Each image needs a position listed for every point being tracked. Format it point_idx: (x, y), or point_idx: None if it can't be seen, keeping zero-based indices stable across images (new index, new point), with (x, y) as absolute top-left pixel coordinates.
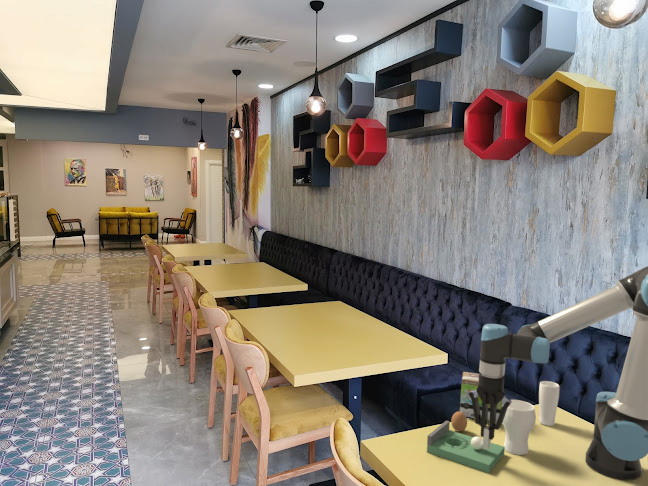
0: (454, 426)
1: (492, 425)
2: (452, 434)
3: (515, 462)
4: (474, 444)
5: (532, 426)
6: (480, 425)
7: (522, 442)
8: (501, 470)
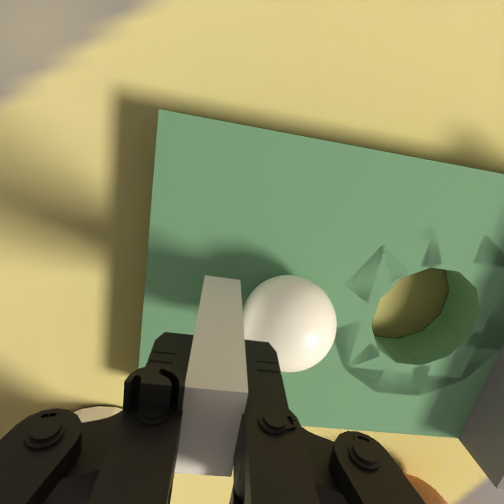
0: (428, 487)
1: (116, 453)
2: (438, 399)
3: (69, 328)
4: (304, 282)
5: None
6: (302, 431)
7: None
8: (110, 195)
